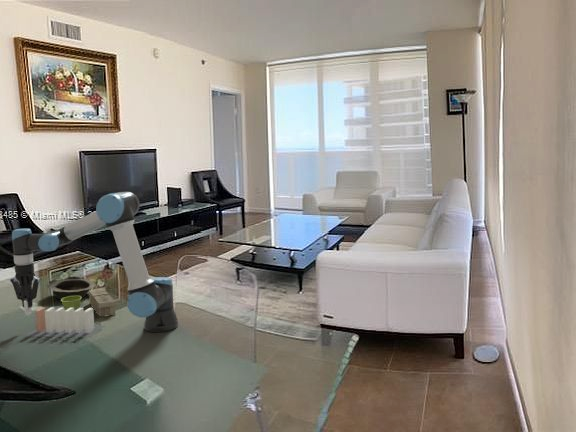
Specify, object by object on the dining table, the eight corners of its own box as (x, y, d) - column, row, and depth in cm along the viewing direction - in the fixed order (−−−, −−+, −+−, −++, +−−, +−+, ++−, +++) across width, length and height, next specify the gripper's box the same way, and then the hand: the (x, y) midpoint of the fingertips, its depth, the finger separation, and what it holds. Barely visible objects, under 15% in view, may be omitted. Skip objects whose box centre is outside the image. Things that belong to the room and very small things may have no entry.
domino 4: (75, 328, 215) (73, 307, 214) (69, 332, 210) (68, 311, 209) (71, 328, 215) (70, 307, 214) (65, 332, 210) (64, 311, 209)
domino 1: (46, 328, 216) (45, 307, 215) (40, 332, 211) (38, 310, 210) (43, 328, 216) (41, 307, 215) (36, 332, 211) (34, 310, 210)
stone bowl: (47, 293, 272) (48, 277, 272) (94, 290, 283) (94, 275, 282) (46, 304, 250) (46, 287, 249) (96, 301, 261) (97, 285, 260)
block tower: (89, 305, 254) (99, 319, 229) (88, 289, 253) (98, 302, 228) (104, 302, 258) (116, 316, 233) (103, 287, 257) (115, 299, 232)
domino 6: (94, 329, 215) (93, 307, 213) (89, 333, 210) (87, 311, 208) (90, 328, 215) (89, 307, 213) (85, 333, 210) (83, 311, 208)
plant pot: (77, 318, 230) (76, 301, 229) (58, 318, 230) (57, 301, 229) (86, 312, 239) (84, 295, 238) (67, 312, 240) (66, 295, 238)
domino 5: (84, 328, 215) (83, 307, 214) (79, 333, 210) (78, 311, 209) (81, 328, 215) (79, 307, 214) (75, 332, 210) (74, 311, 209)
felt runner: (105, 326, 219) (105, 325, 219) (90, 338, 205) (90, 337, 205) (42, 325, 221) (42, 324, 221) (24, 337, 207) (24, 336, 207)
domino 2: (56, 328, 216) (54, 307, 214) (50, 332, 211) (48, 311, 209) (52, 328, 216) (50, 307, 215) (46, 332, 211) (44, 311, 210)
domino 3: (65, 328, 215) (64, 307, 214) (60, 332, 210) (58, 311, 209) (62, 328, 216) (60, 307, 214) (56, 332, 211) (54, 311, 209)
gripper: (43, 261, 213) (46, 311, 216) (15, 261, 214) (19, 311, 217) (33, 265, 206) (37, 317, 209) (4, 265, 207) (9, 316, 210)
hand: (28, 314), depth 213 cm, fingers closed
